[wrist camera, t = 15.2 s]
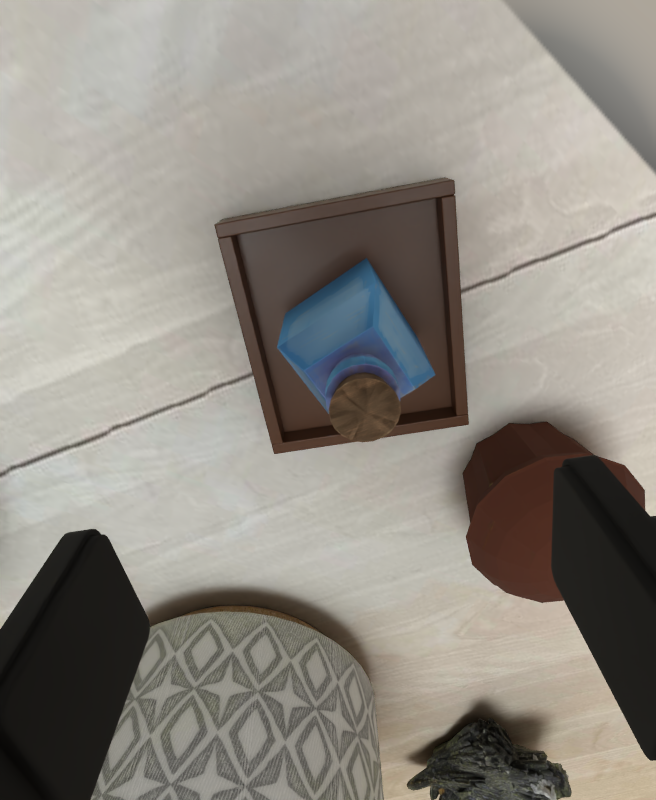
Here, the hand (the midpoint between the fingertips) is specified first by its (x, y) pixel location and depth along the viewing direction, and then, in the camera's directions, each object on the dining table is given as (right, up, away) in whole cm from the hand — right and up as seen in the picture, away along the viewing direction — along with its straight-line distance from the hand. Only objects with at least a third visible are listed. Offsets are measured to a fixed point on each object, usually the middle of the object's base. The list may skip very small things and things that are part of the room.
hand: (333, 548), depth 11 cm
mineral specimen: (+16, -33, +44) cm, 57 cm away
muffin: (+15, -2, +28) cm, 32 cm away
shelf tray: (+1, +8, +23) cm, 24 cm away
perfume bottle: (+1, +8, +22) cm, 24 cm away
